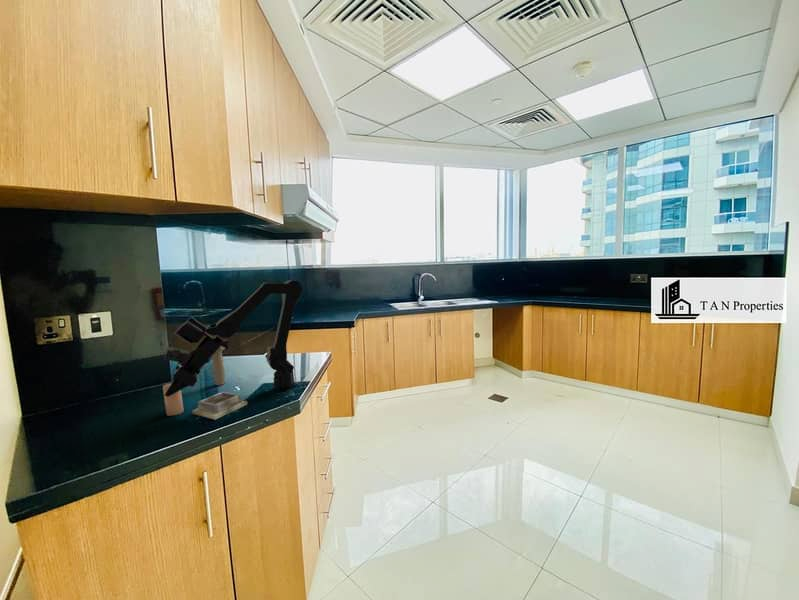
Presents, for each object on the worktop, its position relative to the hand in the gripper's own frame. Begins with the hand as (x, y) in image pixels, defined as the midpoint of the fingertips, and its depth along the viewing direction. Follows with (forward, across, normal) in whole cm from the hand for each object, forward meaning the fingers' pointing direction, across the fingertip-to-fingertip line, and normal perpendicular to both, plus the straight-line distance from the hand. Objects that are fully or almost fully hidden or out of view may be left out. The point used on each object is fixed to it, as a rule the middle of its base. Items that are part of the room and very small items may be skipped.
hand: (167, 393), depth 101 cm
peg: (+4, 0, +6) cm, 7 cm away
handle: (-5, -20, +15) cm, 26 cm away
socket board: (-5, +6, +14) cm, 16 cm away
